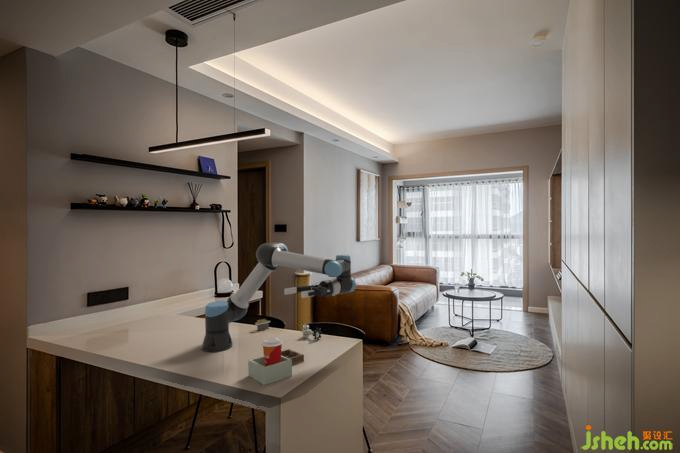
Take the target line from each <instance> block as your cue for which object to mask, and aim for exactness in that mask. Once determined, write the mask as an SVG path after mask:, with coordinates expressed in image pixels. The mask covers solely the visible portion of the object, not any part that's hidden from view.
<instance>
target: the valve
mask: <svg viewBox="0 0 680 453" xmlns="http://www.w3.org/2000/svg"><path fill="white" fill-rule="evenodd" d="M301 328H302V331H301V332H302V338H303V339H309V337H310V336H311V335H312V337H313V339H314V340H316V341H319V340H320V339H321V338H322V336H321V335H323V332H322V329H321V328H318V327H315V329H316V330H315V329H314V330H312V329H310V325H309V324H304V325H302V327H301Z"/></svg>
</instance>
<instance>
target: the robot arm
mask: <svg viewBox="0 0 680 453" xmlns="http://www.w3.org/2000/svg"><path fill="white" fill-rule="evenodd" d="M255 258H256V259H257V262H258V263H257V264H256V266H254V268H253V269H252V271H251V272H250V273H249V275H248V276H247V277H246V279H245V280H244V281H243V283H242V284H241V285H240V287H239V289H237V291H236V292H235V293H232V294H231V295H230V296H229V297H228V298H227V300H216V301H213V302H209V303H208V304H206V306H205V310H204V320H205V324H204V325H205V329H204V330H205V335H204V338H203V341H202V343H201V344H202V345H201V350H202V351H204V352H221V351H225V350H229V349H231V348H232V347H233V340H232V337H231V334H230V330H229V329H230V328H229V324H231V323H233V322H235V321H239V320H241V319H242V318H243V317H245V315H247V312H248V308H249V306H250V304H249V302H250V301H251V299H252V298H253V297H254V295H255V294H256V292H257V291H258V290H259V289H260V287H261V286H262V285H263V284H264V282H265V281H266V280H267V278H268V277H269V276H270V274H271V273H272V272H276V271H277V270H278V268H279V267H283V268H284V267H286V268H290V269H296V270H301V271H305V272H310V273H316V274H321V275H326V276H328V277H329V278H334V279H328V280H322V281H320V282H319V283H318V284H315V285H313V284H312V285H298V286H297V285H295V286H293V287H286V288H284V290H283V292H284V295H286V296H287V295H292V294H294V295H297V293H300V298H301V299H305V298H311V297H312V298H313V297H324V298H325V297H330V296H333V297H335V296H337V295H343V294H349V293H353V292H354V291H355V290H356V287H357V283H356V280H355V278H353V277H352V261H351V255H349V254H337V255H335V260H334V259H329V258H324V257H318V256H312V255H307V254H302V253H297V252H291V251H289V249H288V247H287V245H286V244H284V243H282V242H277V241H275V242H264V243H263V244H261V245H259V246H258V248H257V250H256V252H255Z"/></svg>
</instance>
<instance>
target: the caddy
mask: <svg viewBox="0 0 680 453" xmlns="http://www.w3.org/2000/svg"><path fill="white" fill-rule="evenodd" d="M289 358H290V357H284V356H282V355H281V362H279V363H276V364H273V365H269V366H266V367H265V365H264V355H262V356H258V357H254V358H251V359H248V360H247V362H248V363H247V366H248V367H247V369H248V377H249V378H252V379H253V380H255V381H256V382H259V383H260V384H261V385H262V384H263V385H264V386H265V385H269V384H271V383H273V382H278V381H280V380H284V379H286V378H289V377H292V376H293V365H292V360H291V359H289Z"/></svg>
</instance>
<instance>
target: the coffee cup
mask: <svg viewBox="0 0 680 453" xmlns="http://www.w3.org/2000/svg"><path fill="white" fill-rule="evenodd" d="M261 345H262V349H263V356H264V365H265V367H266V366H269V365H273V364H276V363H279V362H281V351H282V345H283V341H282V338H280V337H279V338H278V337H271V338H266V339H264V340H262V344H261Z"/></svg>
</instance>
